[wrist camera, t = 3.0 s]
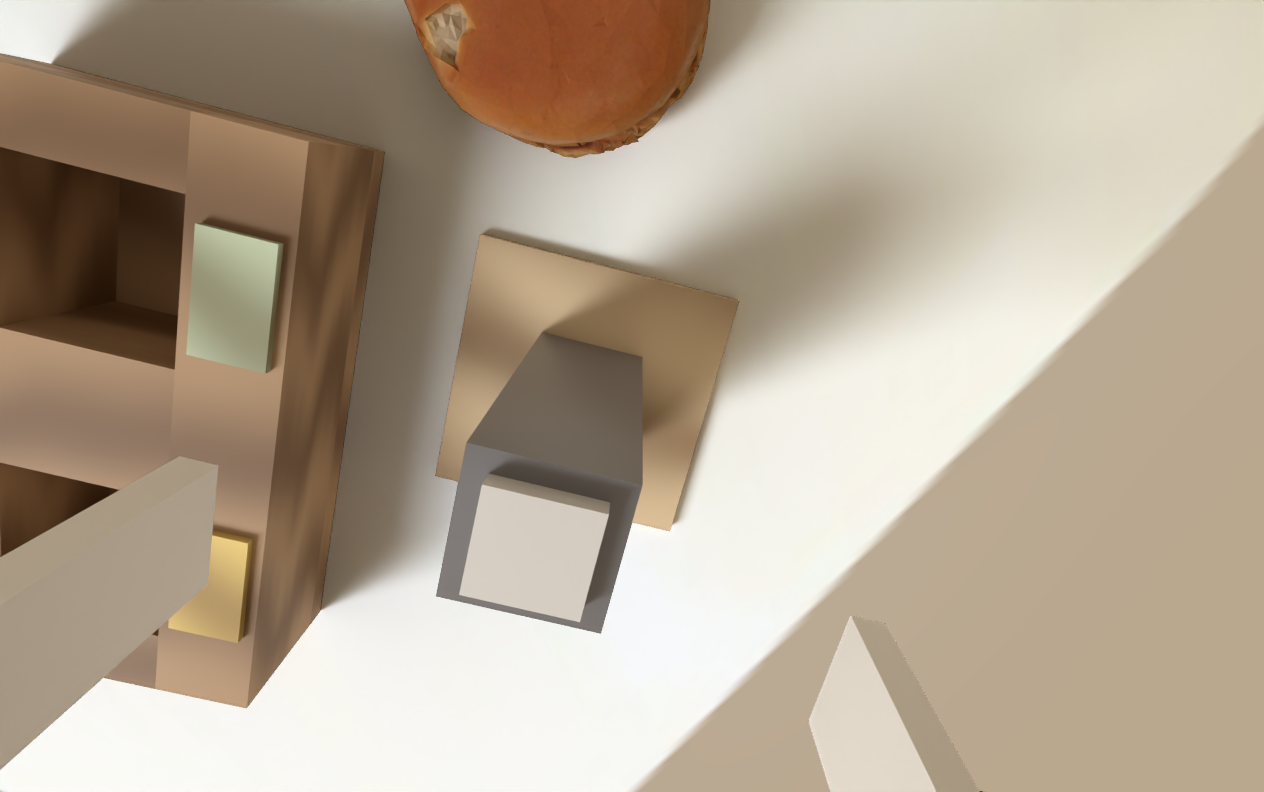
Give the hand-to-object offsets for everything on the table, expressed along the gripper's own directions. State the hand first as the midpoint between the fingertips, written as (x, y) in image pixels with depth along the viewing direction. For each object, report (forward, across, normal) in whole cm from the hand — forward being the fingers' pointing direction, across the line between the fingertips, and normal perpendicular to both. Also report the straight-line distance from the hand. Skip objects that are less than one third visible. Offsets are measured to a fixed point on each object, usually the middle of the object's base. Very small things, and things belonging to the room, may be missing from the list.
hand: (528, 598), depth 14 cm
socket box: (+14, -15, -3) cm, 21 cm away
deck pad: (+14, 0, 0) cm, 14 cm away
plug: (+14, 0, 0) cm, 14 cm away
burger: (+14, -4, +13) cm, 20 cm away
